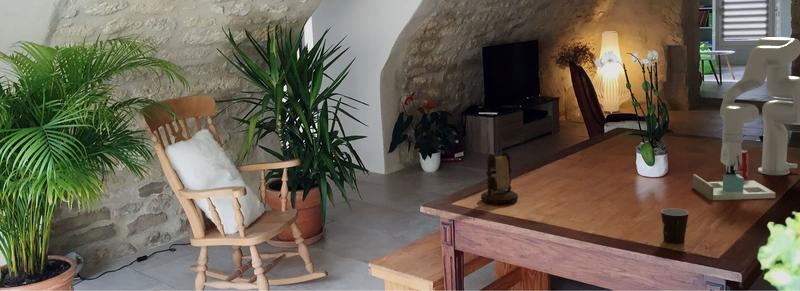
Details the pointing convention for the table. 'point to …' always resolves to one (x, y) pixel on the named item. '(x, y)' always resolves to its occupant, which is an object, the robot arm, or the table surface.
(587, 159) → the table surface
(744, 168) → the soda can
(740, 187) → the block
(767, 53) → the robot arm
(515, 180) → the table surface
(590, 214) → the table surface
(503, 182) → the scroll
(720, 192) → the tray
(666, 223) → the coffee mug
